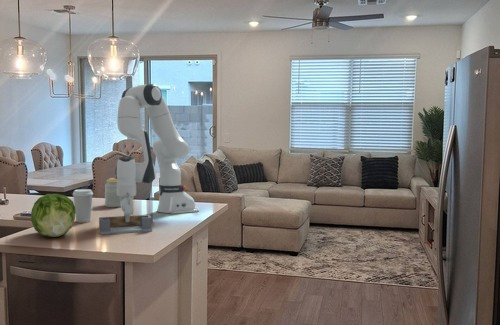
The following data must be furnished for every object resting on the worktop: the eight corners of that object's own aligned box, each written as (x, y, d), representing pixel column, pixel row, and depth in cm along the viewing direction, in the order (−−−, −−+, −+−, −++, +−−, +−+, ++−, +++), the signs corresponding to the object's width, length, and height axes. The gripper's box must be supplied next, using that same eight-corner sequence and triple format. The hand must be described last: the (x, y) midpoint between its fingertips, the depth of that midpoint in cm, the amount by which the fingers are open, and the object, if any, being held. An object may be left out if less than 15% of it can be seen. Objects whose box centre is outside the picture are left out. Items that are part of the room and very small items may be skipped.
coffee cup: (74, 224, 235) (73, 192, 234) (71, 220, 244) (70, 189, 243) (95, 222, 240) (95, 191, 239) (91, 218, 248) (91, 188, 247)
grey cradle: (149, 227, 229) (149, 214, 229) (152, 231, 223) (152, 217, 222) (99, 230, 222) (99, 217, 221) (100, 234, 215) (99, 220, 215)
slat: (146, 223, 240) (145, 215, 240) (146, 224, 238) (146, 216, 237) (106, 225, 235) (106, 216, 234) (107, 226, 232) (106, 218, 232)
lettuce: (28, 224, 195) (69, 195, 201) (16, 205, 213) (55, 179, 219) (54, 256, 204) (93, 227, 210) (41, 235, 222) (77, 209, 229)
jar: (133, 205, 289) (133, 174, 287) (116, 208, 278) (115, 176, 276) (117, 202, 296) (117, 172, 294) (99, 205, 285) (99, 174, 283)
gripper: (136, 194, 226) (136, 225, 227) (131, 188, 245) (131, 216, 246) (121, 195, 224) (122, 225, 225) (117, 188, 243) (117, 217, 244)
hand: (126, 221), depth 236 cm, fingers open, 3 cm apart
